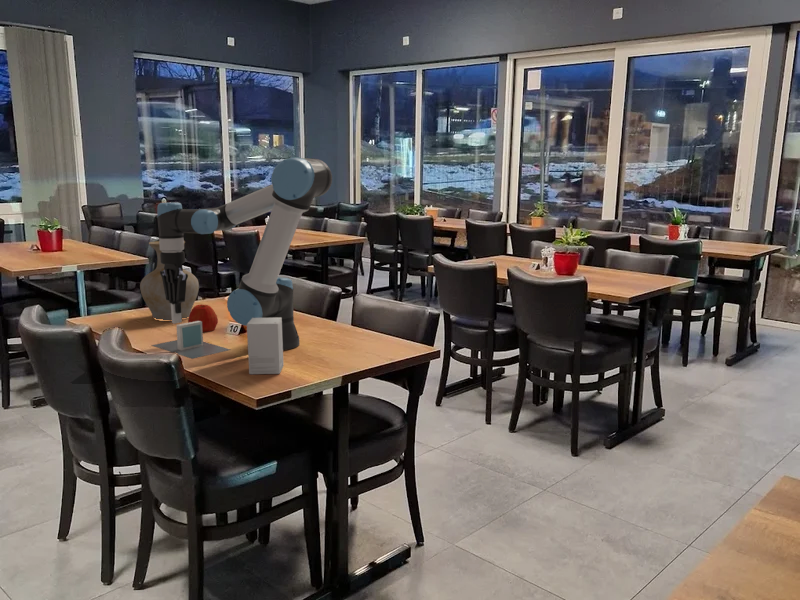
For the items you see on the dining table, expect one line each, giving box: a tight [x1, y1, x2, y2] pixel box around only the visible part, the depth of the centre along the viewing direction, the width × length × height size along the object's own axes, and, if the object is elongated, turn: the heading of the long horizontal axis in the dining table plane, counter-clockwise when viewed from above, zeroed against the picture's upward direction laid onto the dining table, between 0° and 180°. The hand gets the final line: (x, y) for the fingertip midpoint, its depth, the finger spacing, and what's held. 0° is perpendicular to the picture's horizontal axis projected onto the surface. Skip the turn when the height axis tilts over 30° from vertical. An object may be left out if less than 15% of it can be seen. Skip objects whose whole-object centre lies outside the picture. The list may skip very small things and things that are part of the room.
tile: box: [175, 321, 204, 350], centre depth 214 cm, size 2×8×8 cm, turn 139°
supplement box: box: [246, 317, 284, 375], centre depth 193 cm, size 9×9×15 cm
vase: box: [139, 240, 200, 320], centre depth 261 cm, size 22×22×30 cm
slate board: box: [151, 339, 232, 360], centre depth 215 cm, size 24×14×1 cm, turn 49°
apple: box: [187, 304, 219, 333], centre depth 239 cm, size 10×10×10 cm
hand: (176, 322), depth 218 cm, fingers closed
